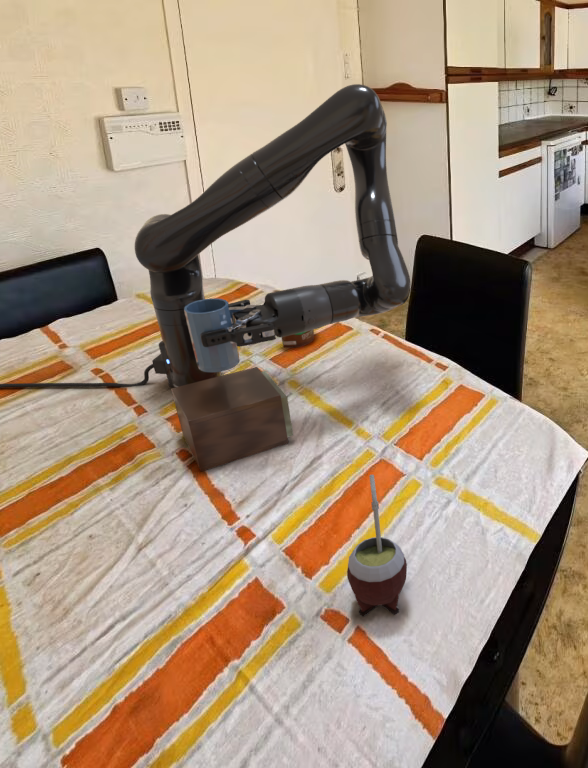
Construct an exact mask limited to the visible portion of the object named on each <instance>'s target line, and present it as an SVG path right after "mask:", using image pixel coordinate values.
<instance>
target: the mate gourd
mask: <svg viewBox="0 0 588 768" xmlns="http://www.w3.org/2000/svg"><path fill="white" fill-rule="evenodd" d="M368 477H369V484H370V493H371V501H372V502H371V511H373V520H374V529H375V536H374V537H370V538H367V539H364V540H362V541H361V542H359V543H358V544H357V545H356V546H355V547H354V549H353V550H352V552H351V554H350V555H349V556H348V562H347V571H346V572H347V573H346V578H347V580H348V583H349V586H350V589H351V590H352V593H353V594H354V596H355V600H356V603H357V605H358V607H359V609H360V610H358V614H359V616H361V617H362V618H364V617H366V616H367V615H368V614H369V613H371V612H372V611H373V610H375V609H376V608H377V607H379V606H381V607H383V608H384V609H386V610H387V611H388V612H389V613H391V614H392V615H393V616H396V615H398V614H399V613H400V608H399V607H398V603H399V599H400V594H401V592H402V590H403V588H404V586H405V584H406V580H407V575H408V574H407V570H408V567H407V566H408V563H407V559H406V557H405V554H404V552H403V550H402V548H401V547H400V546H399V545H398V544H397V543H396V542H394V541H393V540H391V539H390V538H387V537H383V536H382V535H381V526H380V514H379V509H380V505H379V504H380V503H379V501H378V497H377V489H376V481H375V475H374V474H369V476H368Z"/></svg>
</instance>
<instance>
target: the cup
mask: <svg viewBox="0 0 588 768" xmlns="http://www.w3.org/2000/svg"><path fill="white" fill-rule="evenodd" d="M229 304H230V303H229V301H227V300H226V299H223V298H216V297H215V298H213V297H211V298H205V299H202V300H198V301H195V302H192V303H189V304H188V305H186V306H185V308H184V312H185V316H186V320H187V324H188V329H189V333H190V337H191V341H192V345H193V349H194V353H195V358H196V362H197V365H198V368H199V369H200V370H201V371H204V372H221V373H222V372H225V371H228V370H232V369H233V368H235V367H237V366H238V365H239V364H240V361H241V359H240V353H239V349H238V348H239V347H238V346H237V345H236V343H234V344H231V343H229V342H227V343H223V344H219V345H215V346H210V347H204V346H203V345H202V342H201V338H200V334H201V333H203V332H208V331H212V330H217V329H221V328H225V329H226V328H227V327H229V326H231V325H233V323H232V318H231V313H230V308H229ZM226 330H227V329H226Z"/></svg>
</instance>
